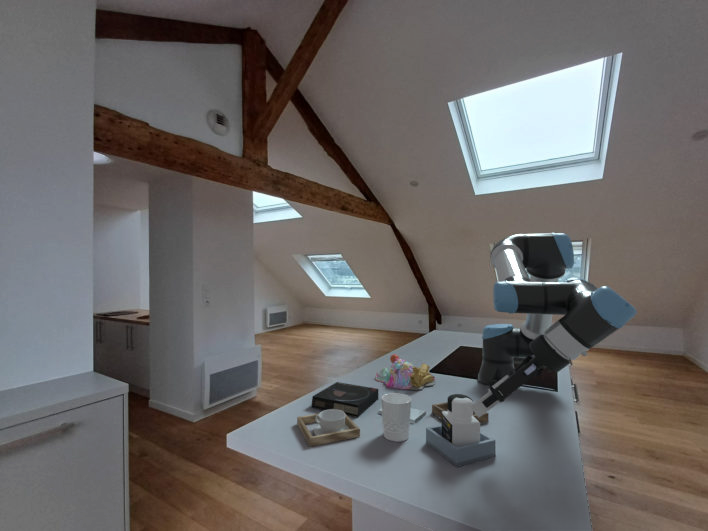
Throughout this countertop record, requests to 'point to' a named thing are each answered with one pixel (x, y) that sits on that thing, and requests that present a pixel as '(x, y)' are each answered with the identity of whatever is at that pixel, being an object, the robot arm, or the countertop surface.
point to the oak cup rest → (329, 437)
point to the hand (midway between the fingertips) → (483, 402)
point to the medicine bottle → (460, 421)
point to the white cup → (396, 416)
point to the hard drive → (412, 415)
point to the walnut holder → (441, 407)
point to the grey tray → (461, 453)
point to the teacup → (330, 422)
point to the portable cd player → (345, 398)
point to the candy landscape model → (405, 375)
